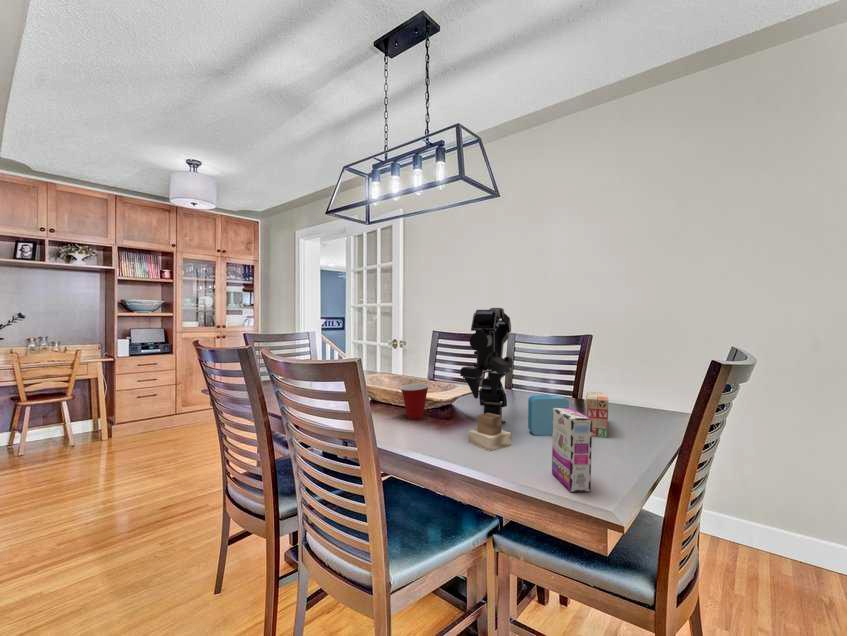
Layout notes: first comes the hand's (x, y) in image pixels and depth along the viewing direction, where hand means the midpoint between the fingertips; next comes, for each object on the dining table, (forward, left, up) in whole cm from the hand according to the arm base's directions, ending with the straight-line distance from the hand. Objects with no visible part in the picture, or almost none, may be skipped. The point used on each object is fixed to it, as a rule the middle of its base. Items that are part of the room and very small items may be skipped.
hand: (485, 396), depth 137 cm
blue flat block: (-15, +14, -12) cm, 24 cm away
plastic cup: (+4, -30, -12) cm, 33 cm away
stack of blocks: (-33, +22, -12) cm, 41 cm away
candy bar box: (+16, +38, -12) cm, 43 cm away
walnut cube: (+8, +8, -8) cm, 14 cm away
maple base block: (+8, +8, -12) cm, 17 cm away
